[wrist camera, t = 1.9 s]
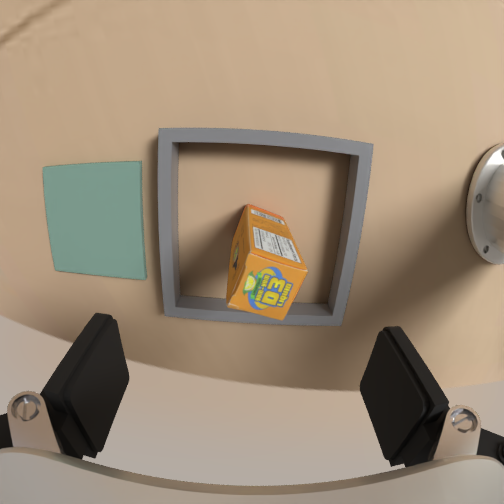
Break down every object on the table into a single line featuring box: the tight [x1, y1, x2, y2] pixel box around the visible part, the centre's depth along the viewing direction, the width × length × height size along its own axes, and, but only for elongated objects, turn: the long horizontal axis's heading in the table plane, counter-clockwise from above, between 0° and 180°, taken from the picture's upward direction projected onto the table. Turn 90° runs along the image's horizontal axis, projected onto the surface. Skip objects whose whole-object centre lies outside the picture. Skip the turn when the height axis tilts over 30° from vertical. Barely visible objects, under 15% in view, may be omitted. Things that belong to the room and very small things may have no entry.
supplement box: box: [226, 204, 308, 320], centre depth 19 cm, size 3×4×10 cm
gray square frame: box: [158, 128, 373, 326], centre depth 23 cm, size 15×15×2 cm
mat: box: [43, 161, 147, 280], centre depth 23 cm, size 10×10×1 cm
